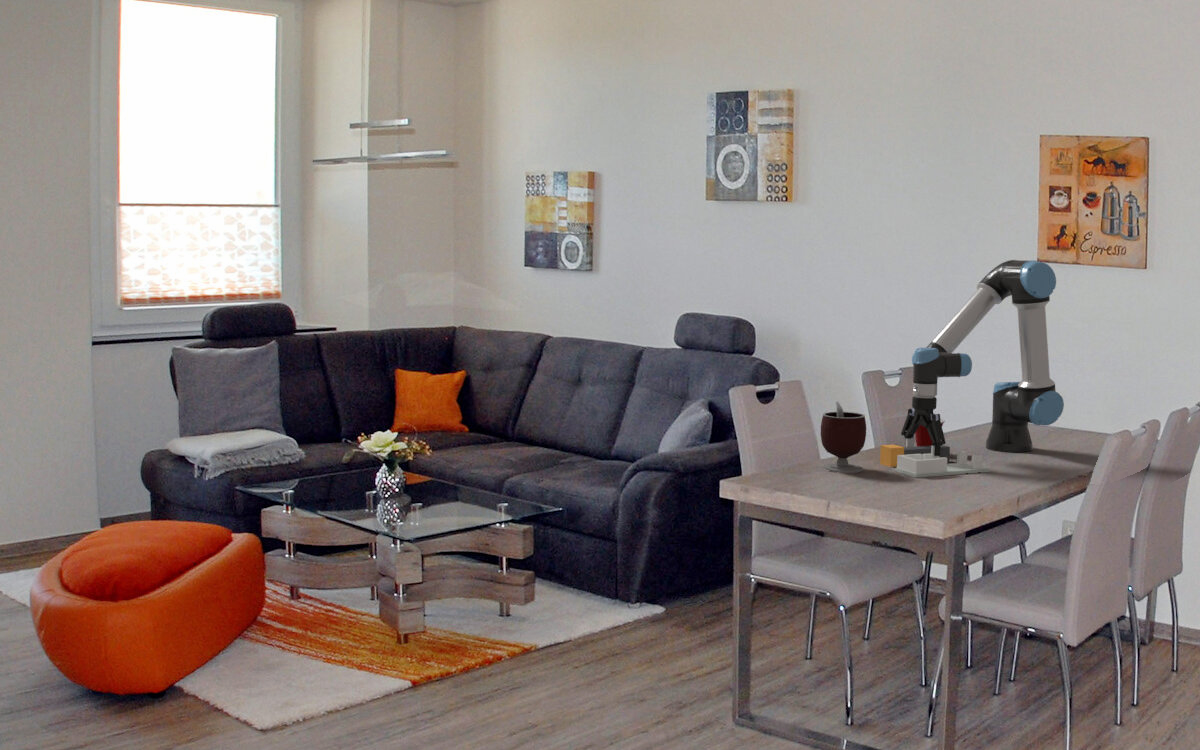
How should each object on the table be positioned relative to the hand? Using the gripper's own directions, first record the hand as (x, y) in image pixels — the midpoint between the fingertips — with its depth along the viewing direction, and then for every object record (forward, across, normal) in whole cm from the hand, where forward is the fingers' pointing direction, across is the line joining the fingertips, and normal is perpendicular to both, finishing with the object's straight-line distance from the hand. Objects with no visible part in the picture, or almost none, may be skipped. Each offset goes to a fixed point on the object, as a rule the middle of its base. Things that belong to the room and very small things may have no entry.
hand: (921, 462), depth 402 cm
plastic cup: (0, -14, +12) cm, 19 cm away
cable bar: (0, 0, -2) cm, 2 cm away
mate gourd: (0, 0, -30) cm, 30 cm away
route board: (0, +14, -3) cm, 15 cm away
